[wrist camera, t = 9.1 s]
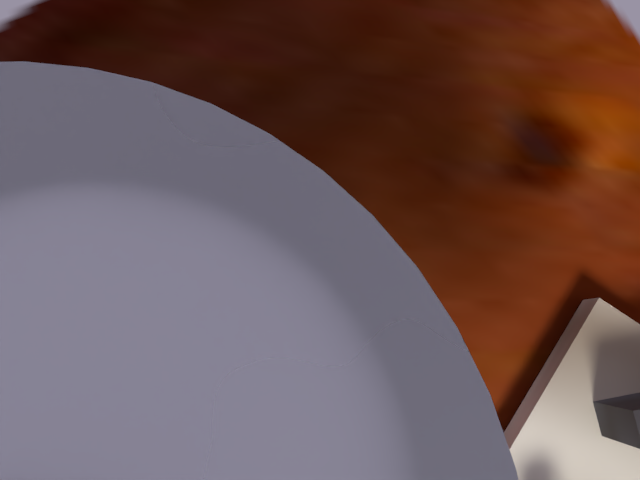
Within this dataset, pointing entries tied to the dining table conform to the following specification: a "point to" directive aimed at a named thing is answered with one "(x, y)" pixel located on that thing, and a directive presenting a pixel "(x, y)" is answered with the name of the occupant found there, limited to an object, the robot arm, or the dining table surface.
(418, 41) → the dining table surface
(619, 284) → the dining table surface
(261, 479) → the grey round cylinder
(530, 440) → the ring stand
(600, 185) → the dining table surface
